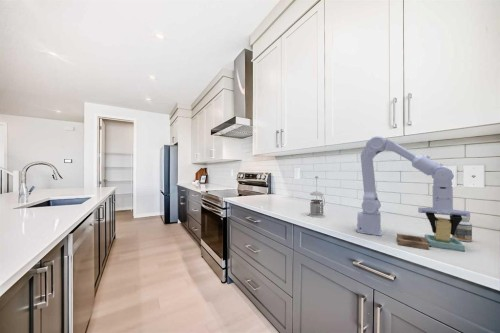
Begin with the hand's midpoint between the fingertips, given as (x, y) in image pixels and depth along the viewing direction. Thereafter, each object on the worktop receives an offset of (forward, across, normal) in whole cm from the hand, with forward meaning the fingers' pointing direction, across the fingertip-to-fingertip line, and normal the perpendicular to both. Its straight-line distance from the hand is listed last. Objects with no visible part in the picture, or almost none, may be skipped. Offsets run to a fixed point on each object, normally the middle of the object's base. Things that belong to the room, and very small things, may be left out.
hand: (442, 233), depth 79 cm
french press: (+5, -54, +24) cm, 59 cm away
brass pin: (+3, 0, 0) cm, 3 cm away
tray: (+4, 0, 0) cm, 4 cm away
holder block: (+4, -10, -5) cm, 12 cm away
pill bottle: (+5, +8, +12) cm, 15 cm away
